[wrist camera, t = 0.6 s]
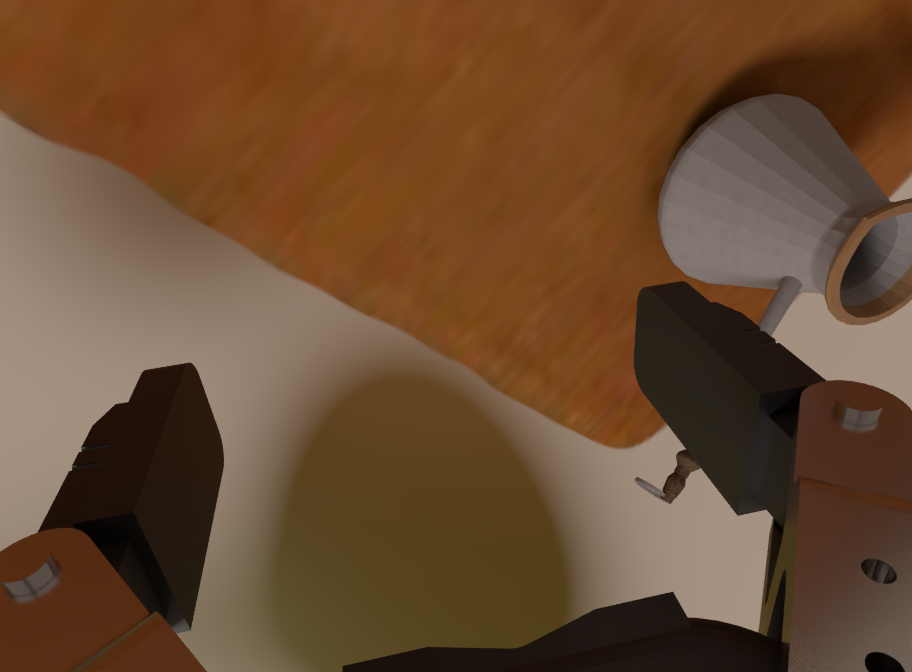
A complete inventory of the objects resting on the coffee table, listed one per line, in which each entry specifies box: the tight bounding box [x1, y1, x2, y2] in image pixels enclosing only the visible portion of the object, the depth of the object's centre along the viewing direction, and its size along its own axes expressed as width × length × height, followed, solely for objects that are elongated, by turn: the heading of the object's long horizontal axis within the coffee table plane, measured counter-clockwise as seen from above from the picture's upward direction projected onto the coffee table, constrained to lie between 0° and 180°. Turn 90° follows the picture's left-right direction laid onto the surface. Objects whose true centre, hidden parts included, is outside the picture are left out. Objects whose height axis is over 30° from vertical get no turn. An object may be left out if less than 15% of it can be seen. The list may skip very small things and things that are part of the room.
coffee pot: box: [635, 94, 912, 504], centre depth 35 cm, size 21×12×15 cm, turn 132°
